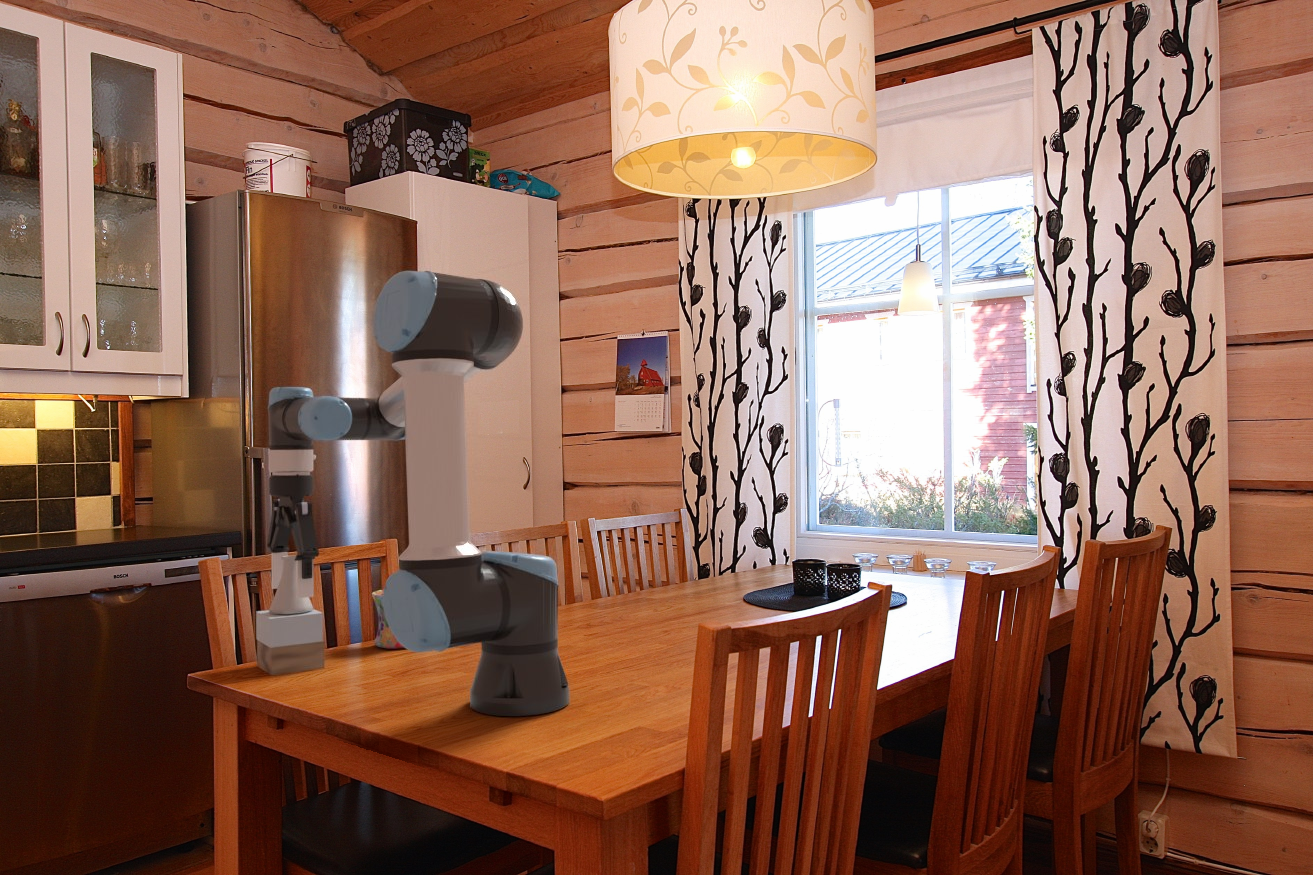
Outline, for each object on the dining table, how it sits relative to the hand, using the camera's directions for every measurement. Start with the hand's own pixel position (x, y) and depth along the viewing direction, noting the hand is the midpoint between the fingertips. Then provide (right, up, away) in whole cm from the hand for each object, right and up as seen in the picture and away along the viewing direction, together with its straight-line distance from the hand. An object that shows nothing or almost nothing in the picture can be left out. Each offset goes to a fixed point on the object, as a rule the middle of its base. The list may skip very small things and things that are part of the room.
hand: (292, 592), depth 175 cm
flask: (0, -4, 0) cm, 4 cm away
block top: (0, -8, 0) cm, 8 cm away
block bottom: (0, -13, 0) cm, 13 cm away
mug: (+15, -13, +18) cm, 27 cm away
